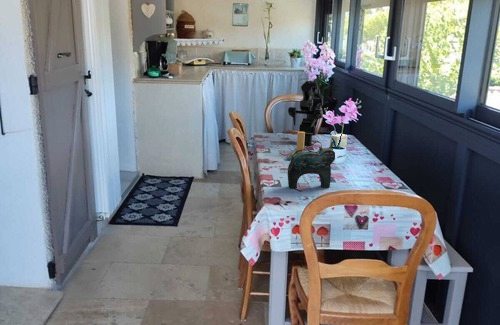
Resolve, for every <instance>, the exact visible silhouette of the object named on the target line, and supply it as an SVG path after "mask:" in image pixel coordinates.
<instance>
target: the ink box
mask: <svg viewBox="0 0 500 325" xmlns="http://www.w3.org/2000/svg"><path fill="white" fill-rule="evenodd" d="M335 134H336V135H335ZM335 134H331V135H330V140H329V141H330V142H329V146H330V145H331V146H332V147H333V146H334V143H333V140H332V138H334V139H335V141H336V146H337V145H338V143H339V140H340V136H341V134H342V136H341V142H340V146H341V147H343V148H345V149H346V150H347V144H348V137H349V136H348V135H347V134H344V133H335Z"/></svg>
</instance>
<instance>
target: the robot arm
mask: <svg viewBox="0 0 500 325" xmlns="http://www.w3.org/2000/svg"><path fill="white" fill-rule="evenodd" d="M300 89H301V90H300V91H301V94H302V96H303V97H302V99H301V100H299V109H297V107H296V106H289V107H288V108H287V113H288V115H289V116H290V117H291V118H292V120H293V121H292V122H293V126H294V127H295V126H296V122H297V114H298V115H301V114H302V115H307V116H306V117H304V118H302V119H301V123H300V124H299V128H298V129H299V132H305V139H304V147H305V146H306V147H310V146H313V143H314V142H312V141H313V137H314V136H316V134H317V131H316V126H315V123H316V122H317V121H319V120H320V119H322V118H323V110H322V109H321V108H322V107H323V105H324V96H323V94H322V93H321V89H320V88H319V85H318V83H317V81H308V80H307V81H305V82H304V83H302V85H301V86H300ZM314 96H318V97H314Z"/></svg>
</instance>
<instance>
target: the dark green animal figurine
mask: <svg viewBox="0 0 500 325" xmlns="http://www.w3.org/2000/svg"><path fill="white" fill-rule="evenodd" d="M312 143H313V145H315V144H317V143H319V144H320V146H319V147H318V148H319V150H318V151H313V150H310V149H302V150H307V152H302V153H299V154H297V155H295V154H296V153H297V152H298V151H302V150H298V151H296V152H295V153H294V154H293V156H294V155H295V156H294V157H293V156H292V160H291V161H290V162H289V164H288V167H287V182H288V183H287V184H288V185H287V186H288V188H289V189H290V190H291V189H292V190H294V189H296V190H297V189H298V182H299V179H300V178H301V177H302V176H304V175H306V174H307V175H308V174H313V175H318V176H319V179H320V180H319V181H320V188H322V189H326V188H328V189H329V188H330V187H331V176H332V169H331V168H332V167H331V165H332V164H333V163H334V162H335V160H336V158H335V152H334V151H333V148H332V146H331V145H330V144H329V147H323V145H322V143H321V142H320V141H319V140H316V141H314V142H312ZM313 145H312V146H313Z"/></svg>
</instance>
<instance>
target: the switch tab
mask: <svg viewBox="0 0 500 325" xmlns="http://www.w3.org/2000/svg"><path fill="white" fill-rule="evenodd" d="M304 139H305V132H299V131H297V137H296V147H295V148H296V149H298V150H302V149H304V148H305V145H304ZM298 150H297V151H298ZM302 151H303V150H302ZM302 151H298V152H297V153H298V154H299V153H302Z"/></svg>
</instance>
